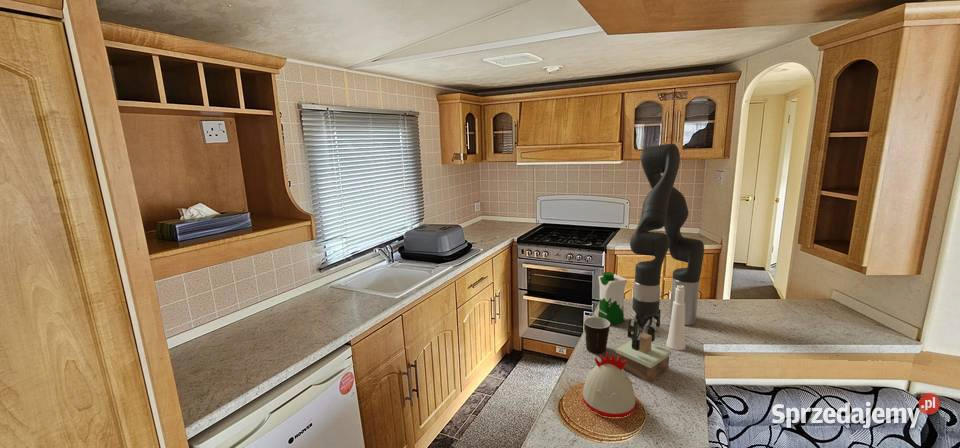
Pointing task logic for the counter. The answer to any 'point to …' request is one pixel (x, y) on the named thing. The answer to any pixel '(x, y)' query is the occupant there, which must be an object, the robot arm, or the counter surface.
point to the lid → (644, 351)
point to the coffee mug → (596, 334)
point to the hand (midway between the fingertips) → (643, 345)
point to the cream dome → (609, 388)
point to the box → (644, 368)
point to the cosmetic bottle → (677, 321)
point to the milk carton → (611, 297)
